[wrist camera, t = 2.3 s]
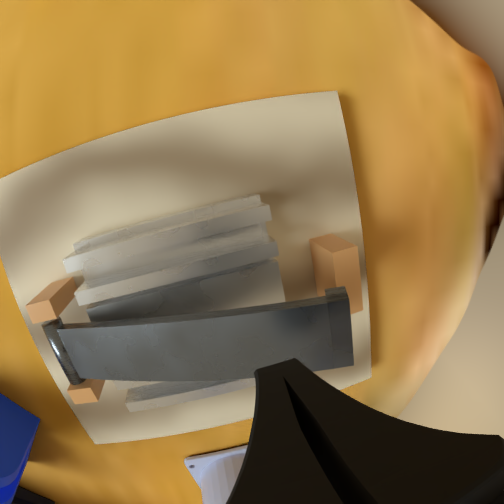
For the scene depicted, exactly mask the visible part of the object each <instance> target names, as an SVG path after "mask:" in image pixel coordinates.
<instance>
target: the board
mask: <svg viewBox="0 0 504 504" xmlns="http://www.w3.org/2000/svg"><path fill="white" fill-rule="evenodd" d="M254 193H256V194H259V195H260V199H261V202H263V203H266V204H268V205H269V206H270V211H271V216H272V220H271V221H266V222H265V223H266V228H267V233H268V235H270V236H271V237H272V238H273V239H274V240H276V241H277V246H278V251H279V256H276V257H274V258H275V259H276V260H277V261H278V265H279V270H280V275H281V280H282V285H283V291H284V296H285V301H286V302H288V301H295V300H302V299H308V298H315V297H318V295H317V288H316V282H315V275H314V268H313V262H312V256H311V250H310V243H309V239H311V238H315V237H319V236H323V235H327V234H333V235H335V236H337V237H340V238H342V239H344V240H346V241H348V242H350V243H352V244H354V245H356V246H357V247H358V256H359V265H360V276H361V287H362V299H363V310H362V311H360V312H357V313H354V314H351V325H352V339H353V355H354V366H348V367H342V368H336V369H329V370H322V371H315V372H314V373H315V374H316V375H318V376H319V377H320V378H322V379H323V380H325V381H326V382H327V383H329V384H330V385H332V386H333V387H335V388H337V389H338V390H341V389H344V388H346V387H349V386H352V385H354V384H357V383H359V382H362V381H364V380H367V379H369V378H371V336H370V314H369V298H368V284H367V272H366V261H365V251H364V242H363V234H362V225H361V218H360V210H359V203H358V196H357V190H356V183H355V177H354V171H353V165H352V160H351V154H350V149H349V144H348V138H347V133H346V129H345V124H344V119H343V114H342V110H341V105H340V101H339V97H338V93H337V91H327V92H316V93H306V94H297V95H288V96H281V97H273V98H266V99H260V100H253V101H247V102H241V103H236V104H230V105H225V106H220V107H215V108H210V109H205V110H200V111H196V112H191V113H187V114H183V115H179V116H175V117H171V118H167V119H163V120H159V121H155V122H152V123H148V124H144V125H141V126H137V127H134V128H130V129H127V130H124V131H121V132H117V133H114V134H111V135H108V136H105V137H102V138H99V139H96V140H93V141H90V142H87V143H85V144H82V145H79V146H76V147H74V148H71V149H68V150H66V151H63V152H61V153H58V154H55V155H53V156H50V157H48V158H46V159H43V160H41V161H38V162H36V163H34V164H31V165H29V166H27V167H25V168H22V169H20V170H18V171H16V172H14V173H11V174H9V175H7V176H5V177H3V178H1V179H0V256H1V259H2V262H3V265H4V268H5V271H6V274H7V277H8V280H9V283H10V285H11V288H12V291H13V293H14V296H15V299H16V301H17V304H18V306H19V309H20V311H21V313H22V316H23V318H24V320H25V323H26V325H27V327H28V329H29V332H30V334H31V336H32V338H33V340H34V342H35V344H36V346H37V348H38V350H39V352H40V354H41V356H42V358H43V360H44V362H45V364H46V366H47V368H48V370H49V372H50V373H51V375H52V377H53V379H54V381H55V382H56V384H57V386H58V388H59V389H60V391H61V393H62V394H63V396H64V398H65V399H66V401H67V403H68V404H69V406H70V408H71V409H72V411H73V412H74V414H75V415H76V417H77V418H78V420H79V422H80V423H81V424H82V426H83V427H84V429H85V430H86V432H87V433H88V435H89V436H90V438H91V439H92V440H93V442H94V443H95V444H105V443H116V442H126V441H135V440H143V439H150V438H157V437H163V436H170V435H176V434H181V433H187V432H192V431H197V430H202V429H207V428H212V427H217V426H221V425H225V424H230V423H234V422H238V421H242V420H246V419H250V418H253V417H254V408H255V397H256V386H253V387H249V388H245V389H241V390H238V391H234V392H230V393H226V394H221V395H217V396H213V397H209V398H204V399H200V400H195V401H190V402H185V403H180V404H175V405H170V406H165V407H159V408H153V409H147V410H141V411H135V412H129V410H128V408H127V406H126V404H125V401H126V397H127V392H128V389H122V390H117V388H116V386H115V384H114V382H113V380H105V383H104V386H103V389H102V392H101V395H100V398H99V401H98V402H91V403H83V404H74V402H73V400H72V399H71V397H70V395H69V394H68V392H67V389H68V387H69V385H70V382H69V381H68V379H67V377H66V375H65V373H64V371H63V369H62V368H61V366H60V364H59V362H58V360H57V358H56V356H55V354H54V352H53V350H52V348H51V346H50V344H49V342H48V339H47V337H46V335H45V333H44V331H43V329H42V326H41V325H42V323H43V322H39V323H35V324H33V323H32V321H31V319H30V316H29V314H28V312H27V309H26V307H25V306H26V305H27V304H28V303H29V302H30V301H31V300H32V299H33V298H34V297H35V296H37V295H38V294H39V293H40V292H41V291H42V290H43V289H44V288H46V287H47V286H48V285H49V284H50V283H52V282H55V281H59V280H62V279H66V278H69V277H73V279H74V281H75V284H76V287H77V289H78V288H79V287H80V286H81V285H82V284H83V282H84V281H85V280H84V277H83V274H82V271H81V270H78V271H74V272H71V273H67V272H66V269H65V266H64V263H63V259H64V258H65V257H67V256H68V255H69V254H71V253H72V252H74V251H75V250H74V247H73V244H74V243H76V242H77V241H79V240H80V239H84V238H87V237H90V236H94V235H97V234H100V233H104V232H107V231H111V230H114V229H117V228H121V227H124V226H128V225H132V224H135V223H139V222H142V221H146V220H150V219H153V218H157V217H161V216H164V215H168V214H172V213H176V212H180V211H184V210H187V209H191V208H195V207H199V206H203V205H207V204H211V203H216V202H220V201H224V200H228V199H232V198H237V197H241V196H245V195H250V194H254ZM88 306H89V304H86V305H82V306H79V305H78V302H77V300H76V297H74V298H73V300H72V301H71V302H70V303H69V304H68V305H67V307H66V308H65V309H64V310H63V311H62V313H61V314H60V315H59V317H61V319H62V322H63V324H68V323H86V322H91V321H90V319H89V316H88V314H87V311H86V308H87V307H88ZM44 322H45V321H44Z"/></svg>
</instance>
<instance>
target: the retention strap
mask: <svg viewBox="0 0 504 504" xmlns="http://www.w3.org/2000/svg"><path fill="white" fill-rule="evenodd" d="M41 326H42V329H43V331H44V333H45V335H46V337H47V339H48V342H49V344H50V346H51V348H52V350H53V352H54V354H55V356H56V358H57V360H58V362H59V364H60V366H61V368H62V369H63V371H64V373H65V375H66V377H67V379H68V381H69V382H70V384H71V385H78V384H81V383H83V382H84V381H85V380H86V379H100V380H119V381H212V380H232V379H247V378H255V376H254V372H255V370H256V369H259V368H262V367H266V366H269V365H273V364H276V363H280V362H283V361H286V360H290V359H293V358H296V359H298V360H299V361H300V362H301V363H303V364H304V365H305V366H306V367H307V368H309V369H310V370H311V371H312V372H315V371H322V370H329V369H336V368H342V367H348V366H354V355H353V339H352V325H351V313H350V302H349V297H348V294H347V291H346V288H345V286H341V287H335V288H329V289H325V296H321V297H315V298H308V299H302V300H295V301H288V302H281V303H274V304H267V305H259V306H251V307H244V308H236V309H228V310H219V311H210V312H202V313H192V314H183V315H173V316H162V317H152V318H140V319H128V320H115V321H101V322H86V323H68V324H63V322H62V319H61V317H59V316H58V318H57V319H52V320H48V321H45V322H43V323H42V325H41Z"/></svg>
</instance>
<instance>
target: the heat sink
mask: <svg viewBox="0 0 504 504" xmlns="http://www.w3.org/2000/svg"><path fill="white" fill-rule="evenodd" d="M271 220H272V216H271V211H270V206H269V205H268V204H266V203H263V202H261V199H260V195H259V194H256V193H254V194H250V195H245V196H241V197H237V198H232V199H228V200H224V201H220V202H216V203H211V204H207V205H203V206H199V207H195V208H191V209H187V210H184V211H180V212H176V213H172V214H168V215H164V216H161V217H157V218H153V219H150V220H146V221H142V222H139V223H135V224H132V225H128V226H124V227H121V228H117V229H114V230H111V231H107V232H104V233H100V234H97V235H94V236H90V237H87V238H84V239H80V240H79V241H77V242H76V243H74V244H73V247H74V250H75V251H74V252H72V253H71V254H69V255H68V256H67V257H65V258H64V259H63V263H64V266H65V269H66V272H67V273H71V272H74V271H78V270H81V271H82V274H83V277H84V280H85V281H84V282H83V284H82V285H81V286H80V287H79V288H78V289H77V290H76V291H75V292H74V294H75V297H76V300H77V302H78V305H79V306H82V305H86V304H89V306H88V307H87V308H86V311H87V314H88V316H89V319H90V321H91V322H101V321H115V320H128V319H140V318H152V317H162V316H173V315H183V314H192V313H202V312H210V311H219V310H228V309H236V308H244V307H251V306H259V305H267V304H274V303H281V302H286V301H285V296H284V291H283V285H282V280H281V275H280V270H279V265H278V261H277V260H276V259H275V258H274V257H276V256H279V251H278V246H277V241H276V240H274V239H273V238H272V237H271V236H270V235H268V233H267V228H266V223H265V222H266V221H271ZM113 382H114V384H115V386H116V388H117V390H122V389H128V392H127V397H126V401H125V404H126V406H127V408H128V410H129V412H135V411H141V410H147V409H153V408H159V407H165V406H170V405H175V404H180V403H185V402H190V401H195V400H200V399H204V398H209V397H213V396H217V395H221V394H226V393H230V392H234V391H238V390H241V389H245V388H249V387H253V386H256V384H255V378H247V379H232V380H212V381H119V380H113Z"/></svg>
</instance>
